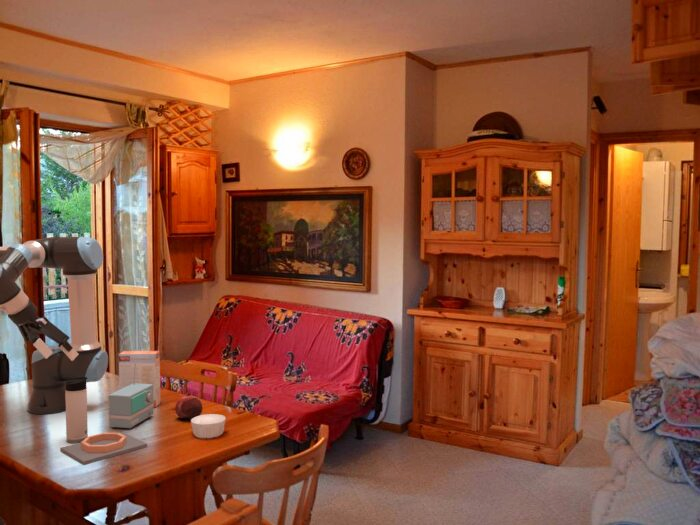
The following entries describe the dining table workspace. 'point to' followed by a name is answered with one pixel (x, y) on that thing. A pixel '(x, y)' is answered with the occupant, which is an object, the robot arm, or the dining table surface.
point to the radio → (131, 405)
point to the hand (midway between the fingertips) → (62, 356)
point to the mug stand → (102, 447)
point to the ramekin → (208, 425)
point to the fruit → (188, 407)
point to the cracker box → (140, 370)
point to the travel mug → (76, 410)
